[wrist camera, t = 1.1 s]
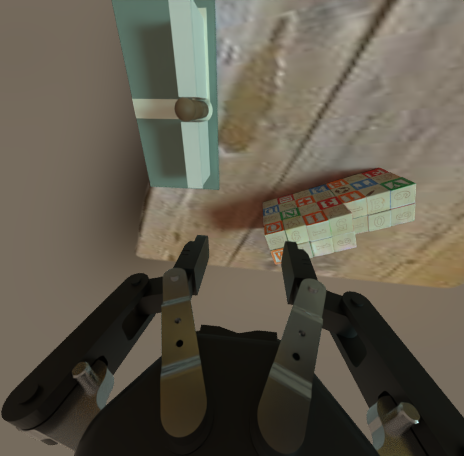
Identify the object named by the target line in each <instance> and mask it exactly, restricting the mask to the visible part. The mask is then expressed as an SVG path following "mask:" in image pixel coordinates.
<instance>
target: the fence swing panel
mask: <svg viewBox="0 0 464 456" xmlns="http://www.w3.org/2000/svg"><path fill="white" fill-rule="evenodd" d="M181 128H182V137H183V147H184V156H185V165H186V174H187V184H188V188H201V189H202V188H203V185H204V183H205V182H206V180H207V179H208V177H209V176H210V159H209V137H208V121H204V120H195V121H189V122H181Z"/></svg>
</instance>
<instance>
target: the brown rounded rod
mask: <svg viewBox="0 0 464 456" xmlns="http://www.w3.org/2000/svg"><path fill="white" fill-rule="evenodd" d="M174 109H175V113H176V116H177V117H178V118H179V119H180V120H182V121H184V122H189V121H191V120H196V119H202V118H205V117H207V115H208V113H209V108H208V105H207V104H206V103H205V102H203V101H198V100H192V99H188V98H185V97H183V98H180V99H178V100H177V101H176V103H175V108H174Z"/></svg>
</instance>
